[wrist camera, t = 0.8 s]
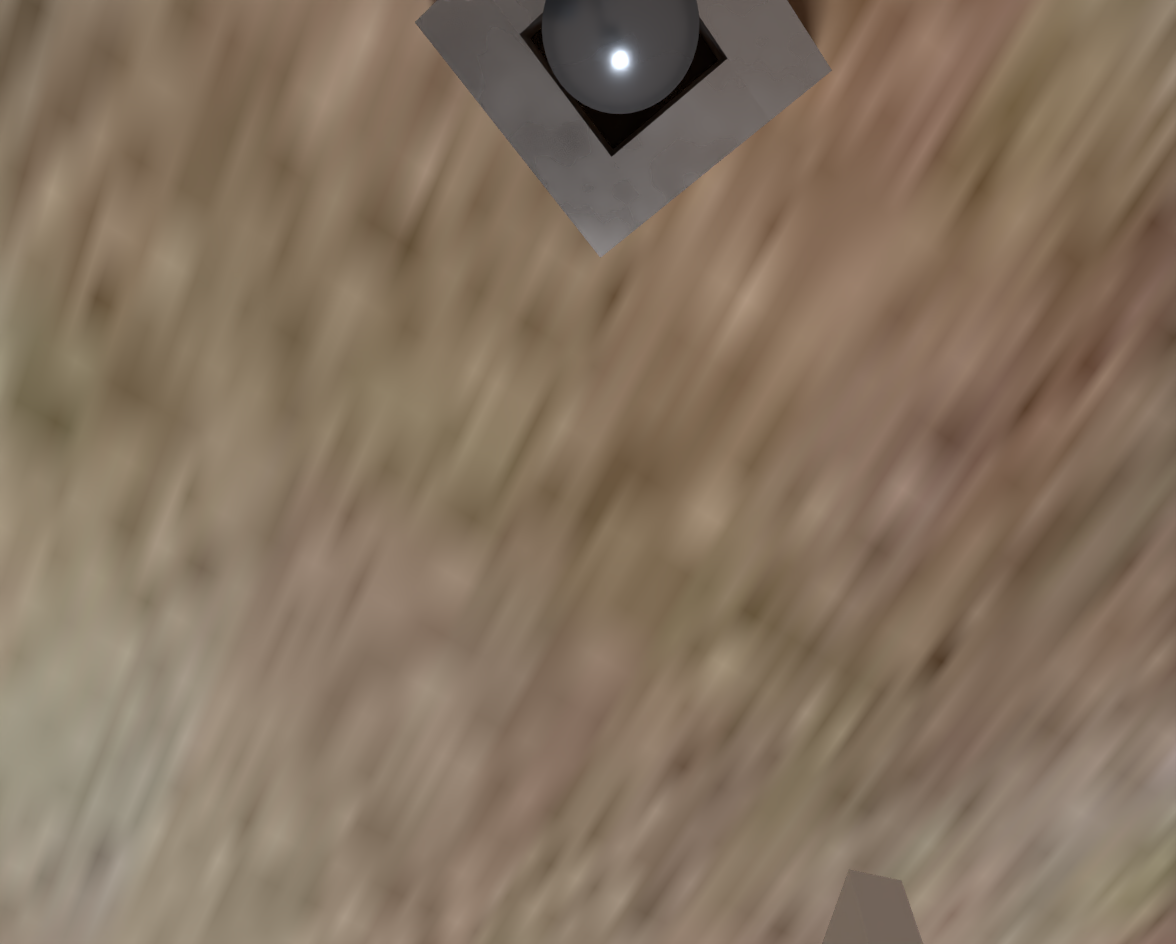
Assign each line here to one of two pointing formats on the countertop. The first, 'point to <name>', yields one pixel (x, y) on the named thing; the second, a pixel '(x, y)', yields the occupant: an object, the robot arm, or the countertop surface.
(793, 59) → the socket block
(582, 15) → the rod
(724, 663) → the countertop surface
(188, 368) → the countertop surface
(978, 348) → the countertop surface
